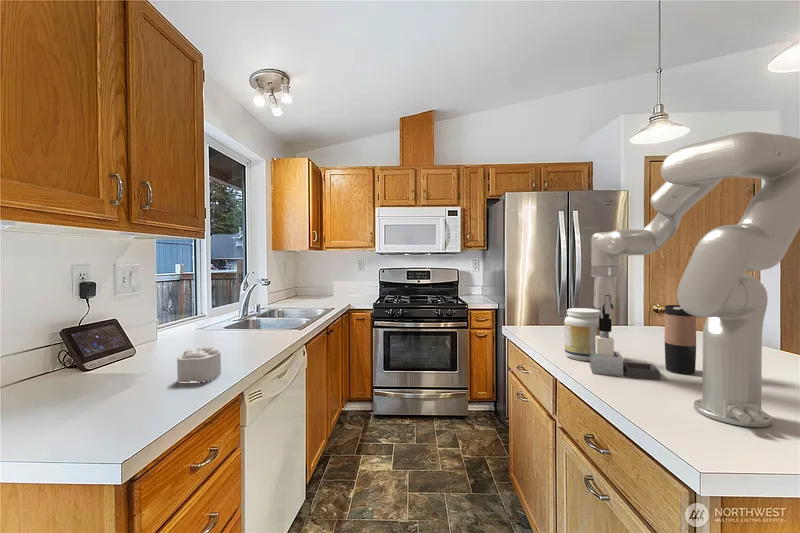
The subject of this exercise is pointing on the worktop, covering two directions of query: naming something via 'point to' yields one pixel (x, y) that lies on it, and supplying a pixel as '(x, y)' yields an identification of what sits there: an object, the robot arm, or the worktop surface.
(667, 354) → the travel mug
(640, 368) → the dark grey tray
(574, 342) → the supplement tub
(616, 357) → the port
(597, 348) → the plug
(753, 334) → the robot arm
